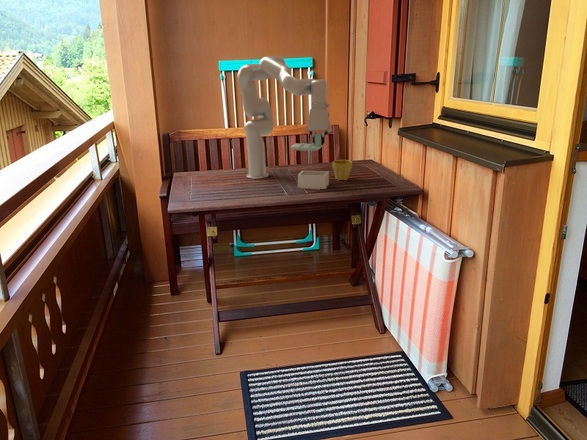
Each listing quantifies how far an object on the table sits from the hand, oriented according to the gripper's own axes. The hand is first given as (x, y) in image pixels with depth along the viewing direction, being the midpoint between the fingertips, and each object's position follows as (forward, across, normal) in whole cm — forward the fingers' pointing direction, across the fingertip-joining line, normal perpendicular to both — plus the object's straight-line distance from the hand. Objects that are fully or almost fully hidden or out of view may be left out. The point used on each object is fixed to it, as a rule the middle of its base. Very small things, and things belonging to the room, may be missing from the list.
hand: (318, 144), depth 227 cm
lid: (+3, +6, 0) cm, 6 cm away
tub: (+22, +2, 0) cm, 22 cm away
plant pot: (+22, -10, -17) cm, 29 cm away
